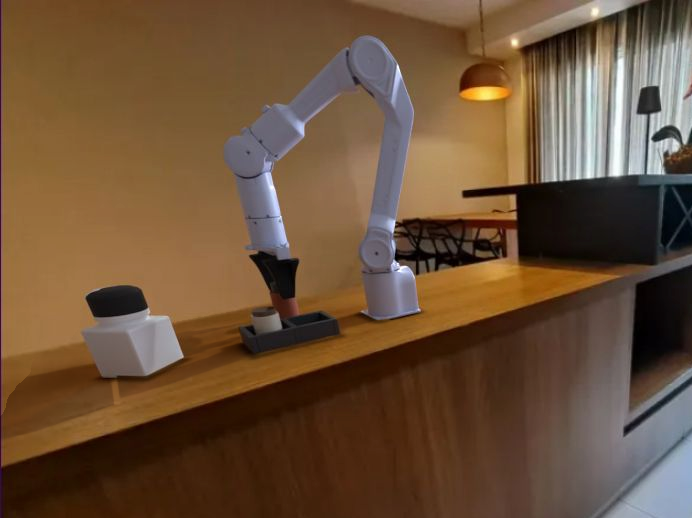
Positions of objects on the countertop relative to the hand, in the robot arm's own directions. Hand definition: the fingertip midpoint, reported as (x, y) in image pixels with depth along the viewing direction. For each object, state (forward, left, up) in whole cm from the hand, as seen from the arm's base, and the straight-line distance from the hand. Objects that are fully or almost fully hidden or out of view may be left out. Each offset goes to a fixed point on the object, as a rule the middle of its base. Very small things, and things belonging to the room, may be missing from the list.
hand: (282, 294), depth 82 cm
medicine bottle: (+23, +9, -6) cm, 25 cm away
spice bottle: (0, 0, -5) cm, 5 cm away
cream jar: (+6, +12, -5) cm, 14 cm away
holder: (+3, +12, -5) cm, 13 cm away
